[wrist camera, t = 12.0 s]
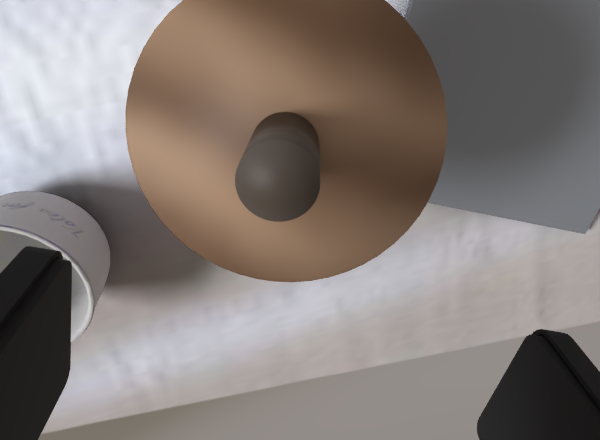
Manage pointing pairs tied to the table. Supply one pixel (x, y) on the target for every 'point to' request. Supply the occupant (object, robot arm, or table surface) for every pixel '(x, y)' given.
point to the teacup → (58, 244)
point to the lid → (286, 132)
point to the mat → (518, 106)
